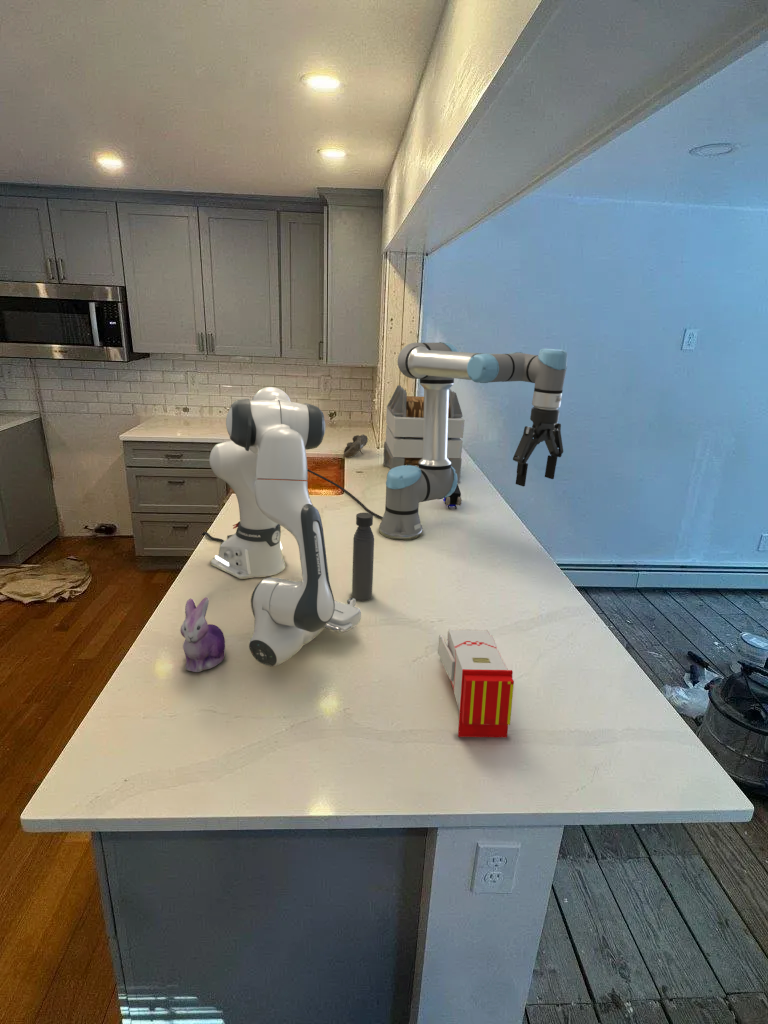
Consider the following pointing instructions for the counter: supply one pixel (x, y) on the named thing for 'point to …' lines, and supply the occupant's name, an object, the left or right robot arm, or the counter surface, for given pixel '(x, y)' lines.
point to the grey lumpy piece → (355, 445)
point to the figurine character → (453, 498)
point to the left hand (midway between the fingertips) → (337, 595)
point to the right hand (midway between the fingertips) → (535, 481)
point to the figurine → (201, 638)
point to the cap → (364, 519)
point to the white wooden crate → (418, 431)
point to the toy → (478, 682)
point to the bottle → (362, 564)
